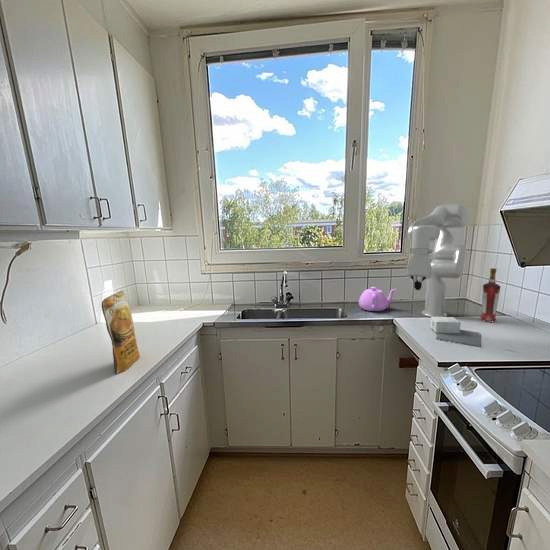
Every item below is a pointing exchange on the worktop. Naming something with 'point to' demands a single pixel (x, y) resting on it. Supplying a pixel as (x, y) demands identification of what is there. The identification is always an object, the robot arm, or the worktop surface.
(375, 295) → the teapot
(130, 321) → the pancake mix bag
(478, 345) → the mat
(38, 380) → the worktop surface
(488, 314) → the liquor
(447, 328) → the small box
